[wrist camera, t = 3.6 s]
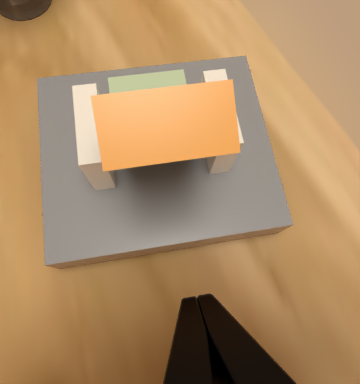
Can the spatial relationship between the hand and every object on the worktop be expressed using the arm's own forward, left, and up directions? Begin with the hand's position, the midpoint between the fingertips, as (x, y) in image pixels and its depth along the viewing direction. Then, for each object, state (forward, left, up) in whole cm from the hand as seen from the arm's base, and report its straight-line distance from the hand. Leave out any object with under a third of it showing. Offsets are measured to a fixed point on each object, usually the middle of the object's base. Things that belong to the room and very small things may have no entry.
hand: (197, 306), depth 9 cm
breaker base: (+5, +7, -11) cm, 14 cm away
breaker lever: (+5, +7, -7) cm, 11 cm away
